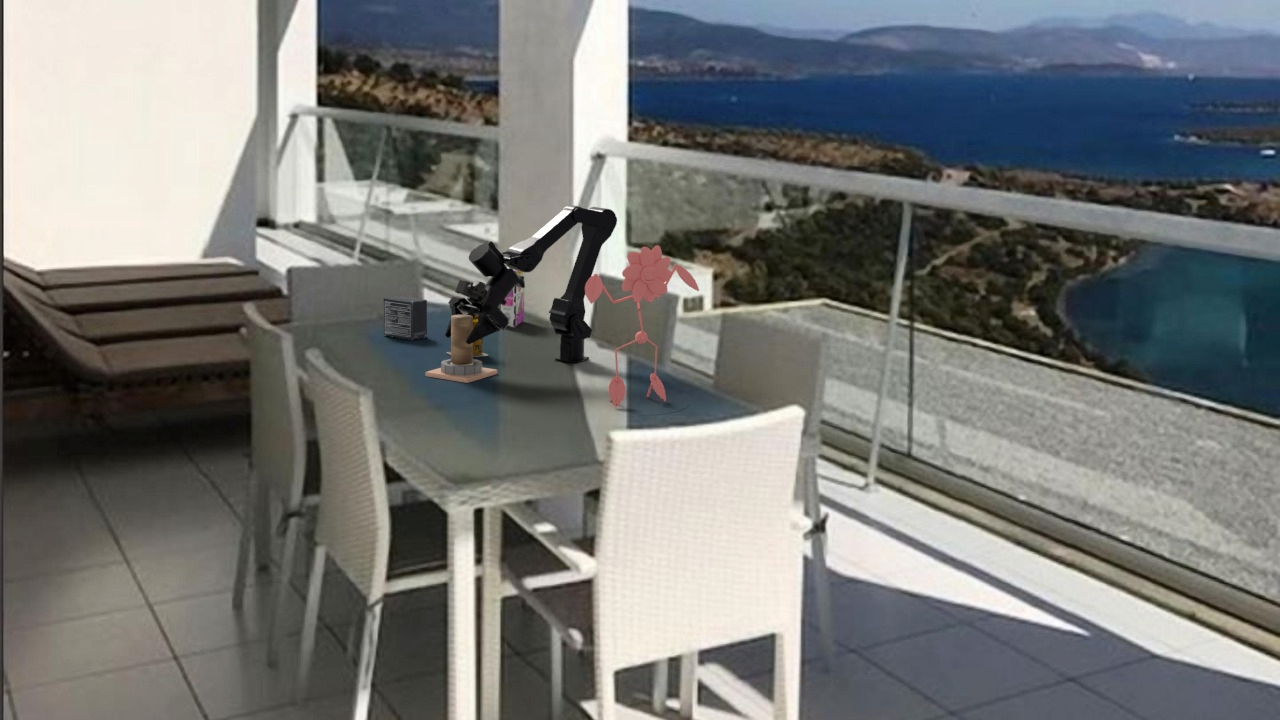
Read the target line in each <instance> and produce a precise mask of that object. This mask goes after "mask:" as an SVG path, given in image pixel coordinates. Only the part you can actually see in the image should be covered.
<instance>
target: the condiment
mask: <svg viewBox="0 0 1280 720" xmlns="http://www.w3.org/2000/svg"><path fill="white" fill-rule="evenodd" d="M477 322H478V316H477V315H475V317H474V318H473V329H474V327H475V326H476V324H477ZM483 342H484V337H483V338H481V339H479V340H477V341H475V342H473V358H478V357H486V356H487V357H488V356H489V354H487V353H484V343H483ZM446 354H448V355H450V356H451V351H446Z"/></svg>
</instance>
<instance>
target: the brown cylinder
mask: <svg viewBox="0 0 1280 720" xmlns="http://www.w3.org/2000/svg"><path fill="white" fill-rule="evenodd" d="M450 320H451V337H450V338H451V339H450V343H451V344H450V352H451V355H450V359H451V365H456V366H467V365H473V359H474V357H473V343H471V344H467V343H466V340H467V338H468V336H469V335H470V333H471V332H472V330H473V316H471V315H453V316H452V315H450Z"/></svg>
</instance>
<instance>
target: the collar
mask: <svg viewBox="0 0 1280 720" xmlns="http://www.w3.org/2000/svg"><path fill="white" fill-rule="evenodd" d="M424 374H425V377H429V378H435V379H440V380H446V381H447V380H448V381H451V382H452V381H453V382H460V383H466V384H468V383H471V382H475V381H477V380H481V379H485V378H487V377H491V376H495V375H498V369H495V368H488V367H483V361H482V360H479V359H474V358H473V365H467V366H456V365H451V358H449V359H448V358H447V359H444V360H442V361H441V363H440V367H437V368H435V369H431V370H428V371H425V373H424Z"/></svg>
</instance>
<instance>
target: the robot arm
mask: <svg viewBox="0 0 1280 720" xmlns="http://www.w3.org/2000/svg"><path fill="white" fill-rule="evenodd" d="M617 223H618V217H617V215H616V213H615V212H614V210H612V209H611V208H604V207H597V206H591V207H589V208H584V207H581V206H579V205H571V204H568V205H566V206H564V207H563V209H562V210H561V211H560V212H559V213H557V215H556V216H555V217H553V218H552V219H551V220H550V221H549V222H547V223H546V224H545V225H544V226H543V227H541V228H540V229H539V230H538V231H537V232H536V233H535V234H533V235H532V236H531V237H529V238H527V239H524V240H521V241H519V242H517V243H516V244H513V245H512V246H510V247H509V248H508V249H507V250H506V251H503V252H501V251H500V250H499V249H498V248H497V247H496V245H495V243H494V242H493V241H492V240H486V241H484V243H481V244H479V245H478V246H477V247H475V248H473V249H472V250H471V251H470V252H469V255H468V260H469V261H470V263H471V264H472V265H473V266H474V267H475V268H476V269H477V270H478V271H479V273H480V274H481V275H482V276H483V277H485V278H488V277H489V279H488V280H487V282H486V283H484V282H483V281H479V280H476V281H474V282H472V281H468V280H465V279H464V280H463V279H459V280H458V283H457V286H456V287H455V290H454V292H455V293H456V294H461V295H463V296H464V297H461V296H458V295H454V296H452V297H451V298H450V300H449V301H448V305H449V309H450V310H451V311H450V312H451V316H453V315H471V316H473V318H474V317H475V315H477V316H478V322H477V324H476V326H475V327H474V329H473V330H472V332H471V333H470V335H469V336H468V338H467V340H466V343H467V344H471V343H473V342H475V341H477V340H479V339H481V338H483V339H484V338H486V337H487V336H489V335H492V334H494V333H496V332H500V331H501V330H502V331H505V330H506V328H508V327H507V326H508V324H509V319H508V317H507V316H506V315H505V314H504V313H503V312H502V311H501V310H500V304H502V305H505V304H506V303H507V302H506V300H505V298H506V297H507V296H508V294H509V293H510V292H511V291H512V289H513V288H514V287H515V286H517V287H521V288H524V287H525V288H526V285H525V283H524V277H523V276H519V275H517V274H516V272H515V271H514V270H517V271H522V272H525V273H531V272H532V271H534V270H535V269H536V268H537V266H538V265H539V264H540V263H541V262H542V261H543V257H544V254H545V253H546V252H547V250H548V249H550V248H551V247H552V246H553V245H554V244H555V243H557V242H558V241H559V240H560V239H562V237H564V236H565V234H567V233H568V232H569V231H570V230H571V229H572V228H574V227H575V226H576V225H578V224H581V227H580V228H581V235H582V241H581V244H580V248H579V251H578V253H577V256H576V260H575V262H574V264H573V265H574V266H573V268H572V271H571V274H570V276H569V277H570V278H569V279H568V283H567V286H566V289H565V292H564V294H563V295H562V296H561V297H554V299H553V301H552V304H551V307H550V310H549V311H548V313H549V322H550V324H551V326H552V327H553V331H554V334H555V335H560V343H559V344H560V345H559V346H560V347H559V356H558V357H555V358H554V360H555V361H559V362H567V363H572V364H578V363H581V362H585V361H587V360H590V357H589V356H585V340H586V339H590V338H591V335H592V332H593V329H592V328H591V327H590V325H589V324H588V323H587V322H586V321H585V320H584V319H585V315H586V308H585V296H586V295H585V285H586V282H587V281H588V279H589V278H590V277H592V276H593V273H594V269H595V266H596V263H597V261H598V258H599V255H600V252H601V249H602V247H603V245H604V244H605V243H606V242H607V240H608V239H610V237H612V235H613V232H614V230H615V228H616V226H617ZM507 267H509V268H510V269H508V268H507ZM466 297H467V298H466ZM444 336H445V337H446V338H447V339H449V338H451V319H450V320H449V324H448V325H447V328H446V331H445V334H444Z"/></svg>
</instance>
